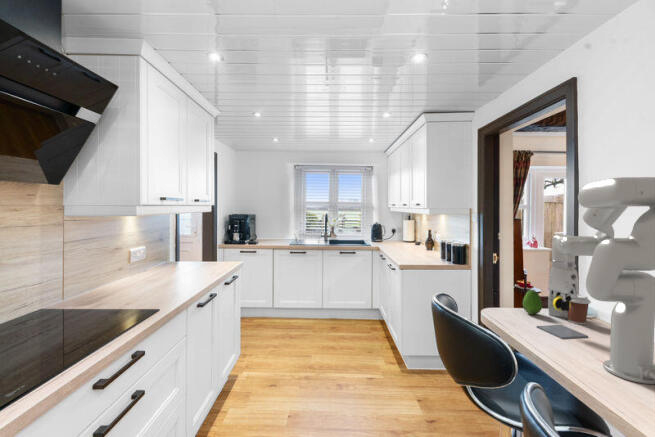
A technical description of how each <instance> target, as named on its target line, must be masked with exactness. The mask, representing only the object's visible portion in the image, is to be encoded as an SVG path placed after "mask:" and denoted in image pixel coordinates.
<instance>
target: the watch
mask: <svg viewBox="0 0 655 437" xmlns="http://www.w3.org/2000/svg"><path fill="white" fill-rule="evenodd" d="M560 298H561V299H563V296H560V295H559V296H558V297H556V298H555V299H554V300H553V306H554V308H555V309H557V308H556V305H555V304H556V301H557V300H558V299H560ZM570 306H571V304H570V302H569V308H570ZM557 310H558V311H562V310H561V309H557Z"/></svg>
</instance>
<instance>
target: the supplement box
mask: <svg viewBox="0 0 655 437" xmlns="http://www.w3.org/2000/svg"><path fill="white" fill-rule="evenodd" d="M561 296H563V293H562V294H561ZM566 297H567V295H566ZM554 299H555V298H553V294H552V293H551V292H550V291H549V290H548V316H554V317H560V318H566V319H568V313H567V311H558V310H557V309H561V308H557V309H555V308H554V306H553V300H554ZM562 301H563V299H562Z"/></svg>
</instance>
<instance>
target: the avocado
mask: <svg viewBox="0 0 655 437" xmlns="http://www.w3.org/2000/svg"><path fill="white" fill-rule="evenodd" d="M522 306H523V310H524V311H525V312H526V313H528V314H529V315H536V314H539V313H541V311H542V309H543V301H542V298H541V297H540V294H539V293H538V292H537V291H536V290H535V289H529V290H527V292H526V293H525V294H524V297H523V299H522Z"/></svg>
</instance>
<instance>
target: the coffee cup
mask: <svg viewBox="0 0 655 437" xmlns="http://www.w3.org/2000/svg"><path fill="white" fill-rule="evenodd" d="M577 296H578V298H574V299H572V300H571V301H570V304H571V306H570V308H569V311H567V321H568V322H569V323H571V324H572V323H573V324H576V325H577V324H578V325H587V319H588V312H589V304H591V302H592V301H591V300H590V299H589V298H588V297H589V296H587V295H584V294H580V293H578V294H577Z"/></svg>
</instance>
